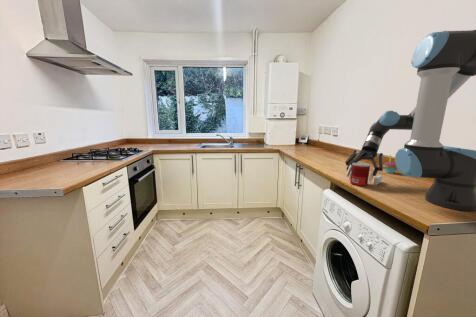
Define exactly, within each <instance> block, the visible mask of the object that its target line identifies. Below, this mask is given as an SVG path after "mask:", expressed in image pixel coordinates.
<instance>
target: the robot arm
mask: <svg viewBox="0 0 476 317" xmlns="http://www.w3.org/2000/svg"><path fill="white" fill-rule="evenodd" d="M410 63H411V66H412V67H413V68H415V69H417V70H416V75H417V76H418V77H420V82H419V83H420V84H419V89H418V93H417V99H416V106H415V107H414V108H413V109H412V110H411V111H410V113H409V114H399V113H398V112H397V111H393V110H387V111H385V112H383V113H382V115H380V117H379V118H378V120H377V121H375V122H373V123H372V124H371V126H370V128H369V130H368V133H367V136H366V138H365V140H364V142H363V145H362V147H361V150H358V151H357V150H356V149H354V150H353V152H352V153H351V155H350V156H349V157H348V158H347V159H346V160H345V161H344V162H345V165H346V173H345V175H346V177H347V178H349V177H350V173H351V170H352V163H359V162H361V161H362V160H367V161H371V164H372V166H373V168H372V169H371V172H370V173H369V177H368V182H371V183H372V181H373V179H374V177H377V174H378V172H383V170H384V169H383V168H384V167H383V158H384V153H383V152H380V153H378V151H379V148H380V146H381V143H382V141H383V139H384V137H385V135H386V134H387V133H389V131H390V130H397V131H398V130H403V131H404V130H407V131H409V130H410V132H411V133H410V139H409V140H407V141H406V142H405V143H404V147H402V148H400V149H397V151H396V153H395V155H394V163H395V164H396V167H397V171H398V172H399V173H400V174H401V175H403V176H404V177H407V178H416V179H419V178H422V179H423V178H424V179H426V178H427V179H433V183H432V184H431V185H430V186H429V189H428V190H427V191H426V192H425V196H424V199H425V200H426V201H427V202H429V203H430V204H433V205H437V206H440V207H443V208H447V209H452V210H458V211H464V212H465V211H466V212H475V211H476V149H475V150H474V149H468V148H461V147H455V146H447V145H443V143H441V141H440V138H441V134H442V130H443V125H444V119H445V115H446V114H445V113H446V109H447V106H448V105H447V104H448V102H449V99H450V97H452V96H453V95H454V94H455V93H456V92H457V91H458V90H459V89H460V88H461V87H462V86H463V85H464V84H465V83H467V81H468V80H470V78H471V77H475V76H476V29H473V30H442V31H435V32H431V33H429V34H427V35H426V36H425V37H423V38H422V39H421V40H420V42H419V43H418V44H417V45H416V47H415V48H414V50H413V53H412V55H411V59H410ZM376 157H377V158H378V165H377V163H376V160H375V158H376Z"/></svg>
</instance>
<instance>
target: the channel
mask: <svg viewBox="0 0 476 317" xmlns="http://www.w3.org/2000/svg"><path fill="white" fill-rule="evenodd" d="M348 178H349V181H350V179H351V172H350V174H349V177H348ZM382 178H383V176H382V175H380V174H379V175H376V176H374V177H373V186H378V184H380V183H381V182H382Z"/></svg>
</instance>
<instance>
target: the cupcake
mask: <svg viewBox="0 0 476 317" xmlns="http://www.w3.org/2000/svg"><path fill="white" fill-rule="evenodd" d="M382 168H384V169H383V170H384V173H387V174H395V173H396V171H398V169H397V167H396V164H395V161H394V162H393V161H392V155H391V154H389V161H386V162H384V163H382Z"/></svg>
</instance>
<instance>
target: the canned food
mask: <svg viewBox="0 0 476 317" xmlns="http://www.w3.org/2000/svg"><path fill="white" fill-rule="evenodd" d="M370 169H371V165H370V164H368V163H364V162H357V163H352V170H351V172H350V173H351V179H350V180H349V183H350V184H351V185H353V186H357V187H367V186H368V183H369V177H370Z"/></svg>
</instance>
